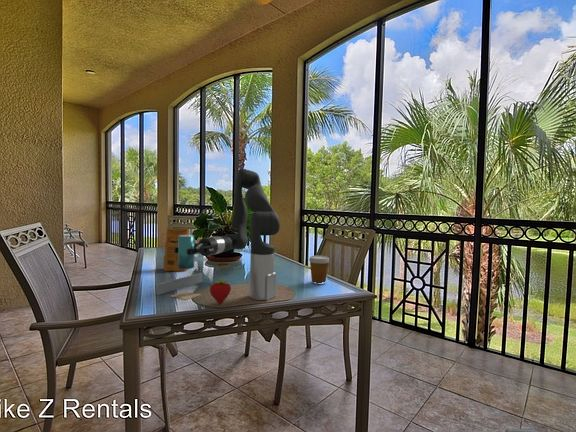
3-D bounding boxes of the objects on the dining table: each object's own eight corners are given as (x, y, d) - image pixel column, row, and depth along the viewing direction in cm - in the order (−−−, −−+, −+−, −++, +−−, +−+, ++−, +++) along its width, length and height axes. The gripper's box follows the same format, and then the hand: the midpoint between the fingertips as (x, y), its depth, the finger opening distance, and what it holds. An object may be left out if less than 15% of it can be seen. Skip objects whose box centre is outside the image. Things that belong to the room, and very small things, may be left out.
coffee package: (166, 267, 175) (166, 226, 174) (190, 267, 176) (190, 227, 175) (161, 271, 165) (161, 228, 164) (186, 272, 166) (186, 228, 165)
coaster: (200, 295, 127) (201, 294, 127) (185, 300, 120) (185, 299, 120) (186, 291, 131) (186, 291, 131) (170, 296, 124) (170, 295, 124)
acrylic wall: (202, 282, 147) (202, 273, 147) (158, 294, 126) (158, 284, 126) (200, 281, 148) (200, 272, 147) (156, 294, 126) (156, 284, 126)
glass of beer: (318, 286, 145) (319, 259, 144) (304, 282, 152) (304, 256, 151) (333, 283, 151) (334, 257, 150) (318, 279, 158) (319, 254, 157)
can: (197, 266, 127) (197, 235, 126) (185, 269, 121) (186, 236, 121) (186, 265, 129) (186, 234, 129) (174, 267, 124) (174, 235, 124)
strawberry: (208, 302, 119) (208, 275, 118) (228, 300, 122) (228, 273, 121) (211, 307, 114) (211, 278, 113) (232, 304, 117) (232, 277, 116)
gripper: (199, 235, 141) (167, 239, 126) (225, 238, 134) (195, 243, 119) (199, 252, 141) (167, 259, 126) (225, 256, 134) (195, 263, 120)
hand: (181, 251), depth 123 cm, fingers closed on can, 6 cm apart
